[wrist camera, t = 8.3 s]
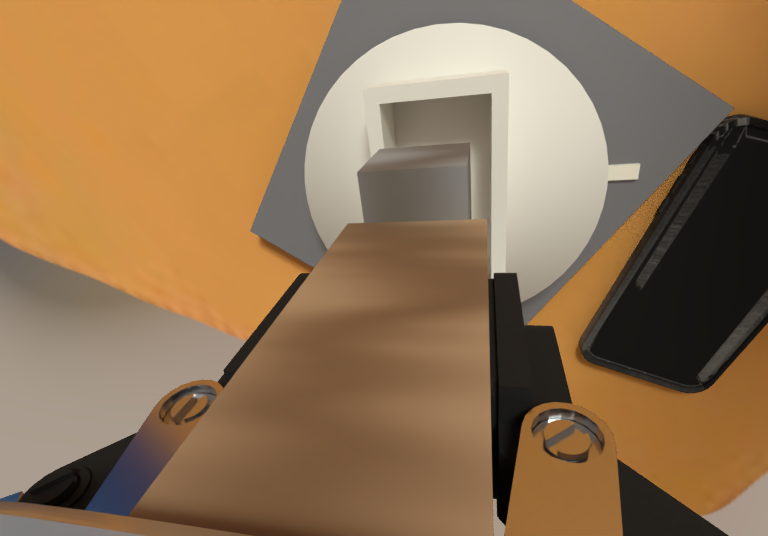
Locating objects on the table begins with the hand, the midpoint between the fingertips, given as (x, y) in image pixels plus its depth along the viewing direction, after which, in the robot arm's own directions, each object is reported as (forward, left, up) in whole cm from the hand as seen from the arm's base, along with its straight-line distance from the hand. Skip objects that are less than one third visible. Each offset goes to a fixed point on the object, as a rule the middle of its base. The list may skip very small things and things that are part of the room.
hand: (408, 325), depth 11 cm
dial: (0, 0, -12) cm, 12 cm away
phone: (-3, +15, -15) cm, 21 cm away
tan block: (0, 0, -5) cm, 5 cm away
